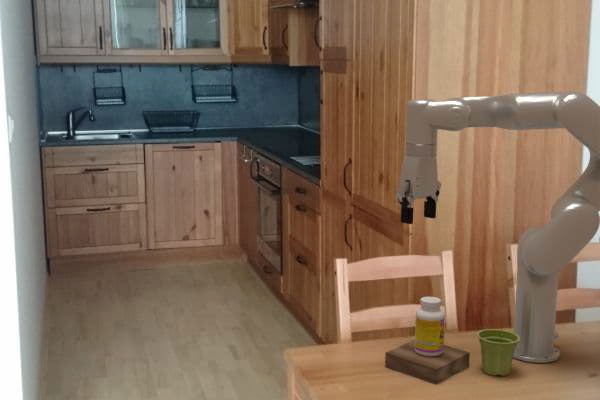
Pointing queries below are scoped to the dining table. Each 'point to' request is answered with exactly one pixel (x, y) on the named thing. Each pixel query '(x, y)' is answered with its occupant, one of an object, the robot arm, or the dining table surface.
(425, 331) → the supplement bottle
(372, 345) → the dining table surface
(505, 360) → the plant pot
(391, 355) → the brown wooden square slab
